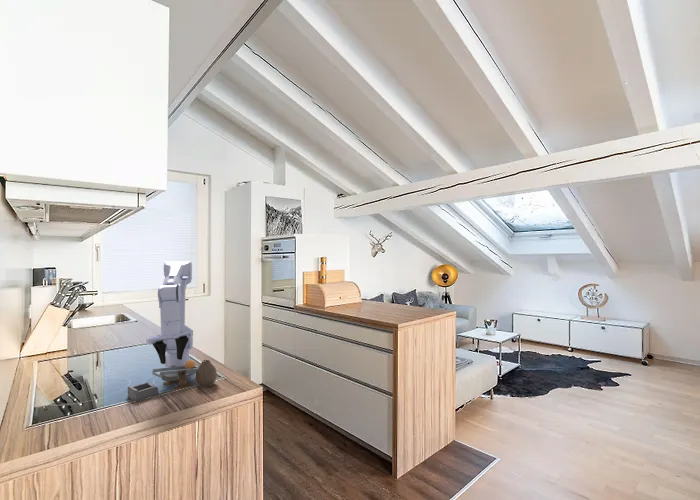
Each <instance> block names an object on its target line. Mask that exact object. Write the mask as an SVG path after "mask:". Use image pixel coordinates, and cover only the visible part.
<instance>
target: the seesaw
mask: <svg viewBox="0 0 700 500" xmlns="http://www.w3.org/2000/svg"><path fill="white" fill-rule="evenodd" d="M198 367H199V366H197V365H195V367H194V368H191V369H186V368H185V366H176V367H165V366H164V367H157V368H152V373H151V375H153V376H155V377H158V378H161V380H162V381H163V382H168V381H176V380H178V379H179V378H178V375H179V371H180V370H184V369H185V370H186V376H188V375H187V374H189V375H196V371H197V369H198Z"/></svg>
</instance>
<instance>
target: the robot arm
mask: <svg viewBox="0 0 700 500" xmlns="http://www.w3.org/2000/svg"><path fill="white" fill-rule="evenodd" d="M163 275H164V279H163V282H162V284H161V285H160V286H159V287H158V289H157V300H158V308H159V309H160V310H159V312H160V334H158V335H154V336H153V335H152V336H150V337H146V338H145V339H146V345H152V346H153V348H154V349H155V351H156V353H157V355H158V357H159V362H160V364H161V365H164V368H165V367H170V366H175V367H176V366H185V363H186V362H187V361H188V360H190V350H192V348H193V345H194V329H192V328H191V327H189V326H188V325H186V289H187V286H188V284H190V283H192V280H193V263H192V262H191V260H187V261H186V260H185V261H165V262H164V263H163ZM188 375H190V374H187V375H186V376H188ZM178 379H179V375H178Z"/></svg>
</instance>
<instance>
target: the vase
mask: <svg viewBox="0 0 700 500" xmlns="http://www.w3.org/2000/svg"><path fill="white" fill-rule="evenodd" d="M217 376H218V374H217V369H216V367H215V365H213V363H212V362H211V361H210V359H203V360H201V362H200V365H199V366H198V369H197V371H196V374H195V382H196V384H197V385H198V387H200V388H202V387H206V388H210V387H211V386H213V385H214V384H215V382H216V380H217Z"/></svg>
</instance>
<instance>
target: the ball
mask: <svg viewBox="0 0 700 500" xmlns="http://www.w3.org/2000/svg"><path fill="white" fill-rule="evenodd" d="M195 366H196V362H195V361H194V360H192V359H189V360H188V361H187V362H186V363H185V368H186V369H191V368H194V367H195Z"/></svg>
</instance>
